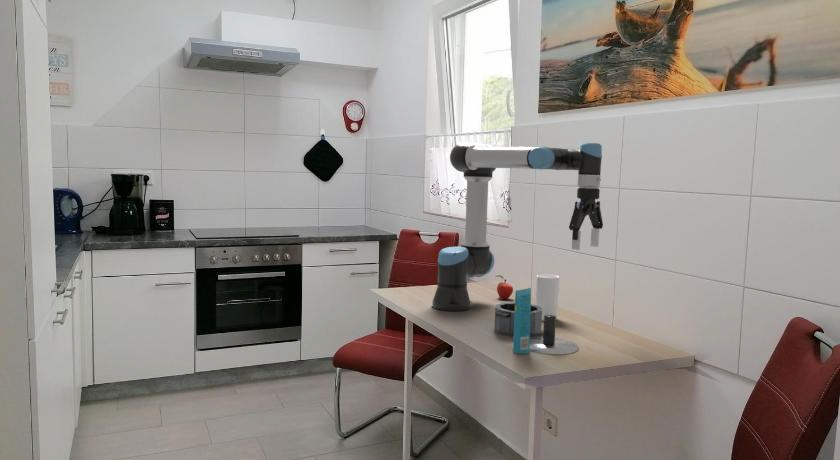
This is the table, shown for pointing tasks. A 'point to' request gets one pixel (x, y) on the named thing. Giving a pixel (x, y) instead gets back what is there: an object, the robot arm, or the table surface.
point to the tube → (522, 321)
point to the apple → (504, 289)
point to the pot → (506, 319)
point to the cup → (547, 294)
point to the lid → (551, 340)
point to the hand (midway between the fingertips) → (585, 248)
